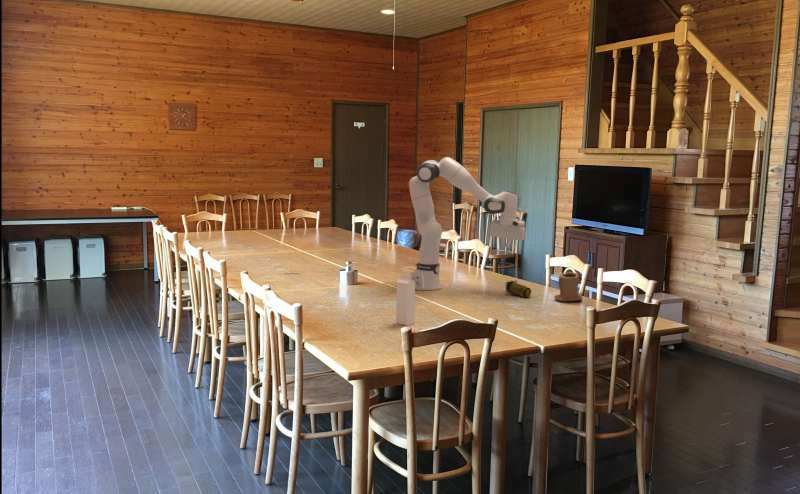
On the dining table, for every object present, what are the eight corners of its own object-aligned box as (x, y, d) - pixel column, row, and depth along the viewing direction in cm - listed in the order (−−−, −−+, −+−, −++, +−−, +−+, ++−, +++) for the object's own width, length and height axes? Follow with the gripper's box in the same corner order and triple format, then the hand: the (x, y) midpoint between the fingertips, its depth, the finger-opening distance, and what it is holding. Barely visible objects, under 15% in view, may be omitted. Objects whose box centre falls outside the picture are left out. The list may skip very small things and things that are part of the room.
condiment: (515, 293, 362) (532, 298, 352) (504, 294, 357) (520, 300, 347) (516, 280, 361) (533, 285, 351) (505, 281, 356) (522, 286, 346)
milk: (403, 320, 299) (404, 273, 296) (414, 323, 296) (415, 274, 293) (395, 323, 294) (396, 274, 292) (406, 325, 291) (407, 276, 288)
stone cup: (560, 304, 337) (562, 275, 335) (551, 298, 349) (552, 271, 347) (588, 303, 340) (590, 274, 338) (578, 298, 352) (579, 270, 350)
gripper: (488, 219, 358) (486, 244, 360) (522, 223, 346) (520, 249, 348) (493, 219, 363) (491, 243, 365) (527, 223, 352) (525, 248, 353)
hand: (506, 246), depth 357 cm, fingers closed
